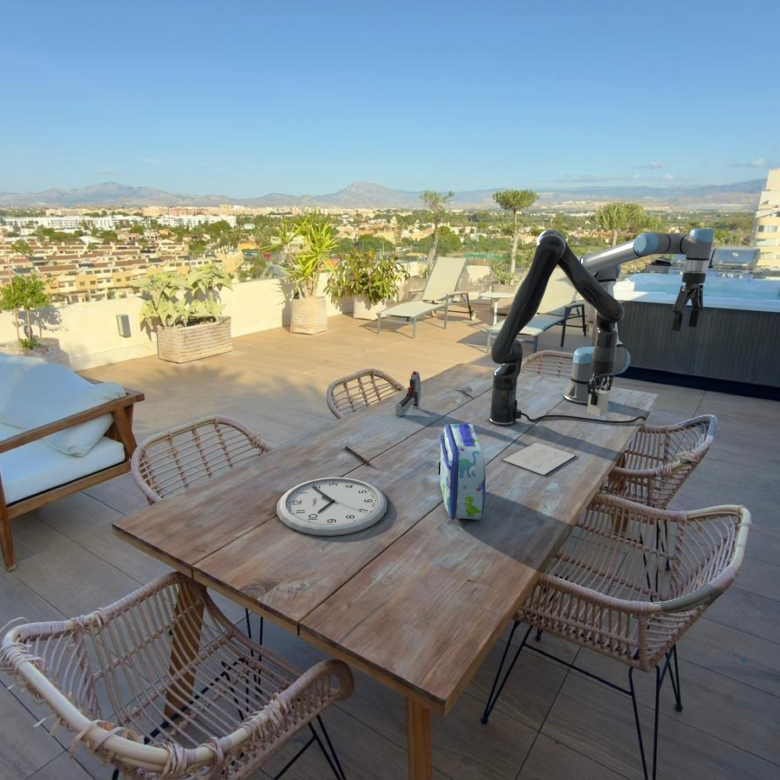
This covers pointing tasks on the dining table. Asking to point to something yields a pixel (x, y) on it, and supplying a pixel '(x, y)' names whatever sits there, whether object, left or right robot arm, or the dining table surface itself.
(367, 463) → the dark brown rod
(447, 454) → the lunch box
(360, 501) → the wall clock
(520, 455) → the invitation card
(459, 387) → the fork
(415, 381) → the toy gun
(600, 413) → the block
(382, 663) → the dining table surface
